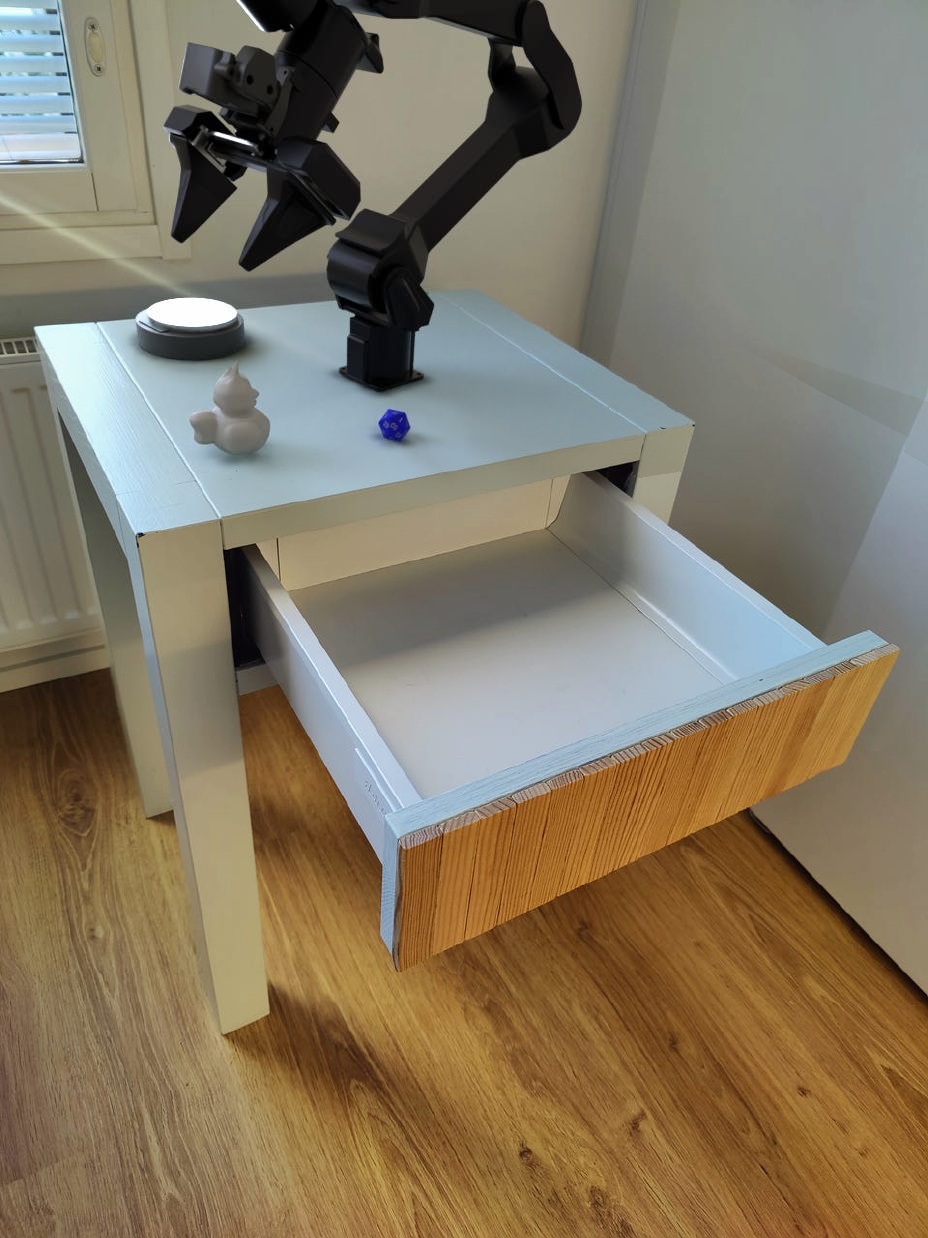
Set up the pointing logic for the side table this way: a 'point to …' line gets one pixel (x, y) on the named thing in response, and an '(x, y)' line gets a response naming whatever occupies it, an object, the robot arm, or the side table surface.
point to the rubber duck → (232, 417)
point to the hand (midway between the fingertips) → (208, 253)
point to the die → (394, 425)
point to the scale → (190, 329)
